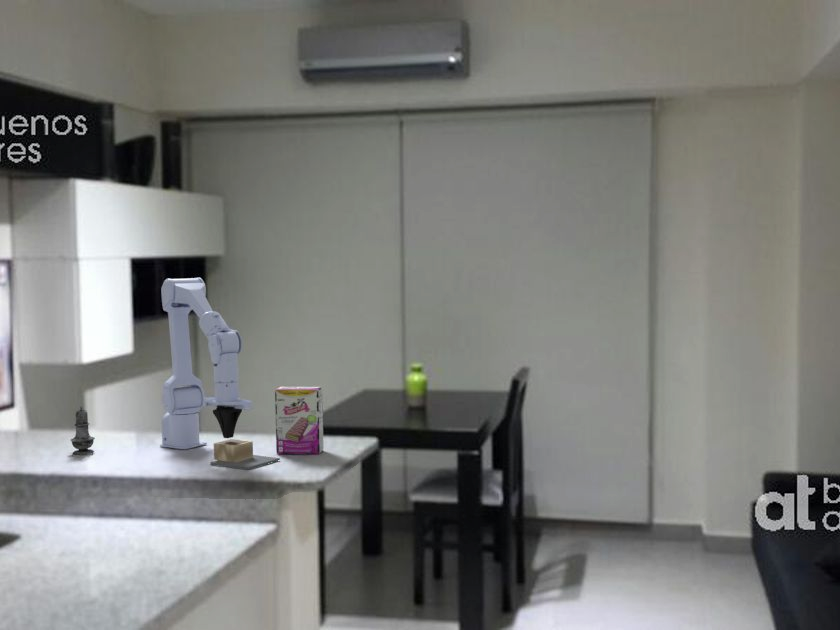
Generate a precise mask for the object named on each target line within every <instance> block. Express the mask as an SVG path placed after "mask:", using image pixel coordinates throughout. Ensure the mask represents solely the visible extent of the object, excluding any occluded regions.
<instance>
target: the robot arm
mask: <svg viewBox="0 0 840 630" xmlns="http://www.w3.org/2000/svg"><path fill="white" fill-rule="evenodd" d="M160 288H161V289H160V290H161V293H160V294H161V303H162V304H161V305H162V309H163V311H164V312H167V316H168V326H169V327H168V328H169V339H170V353H171V355H170V356H171V365H172V366H171V367H172V375H171V376H170V377H169V378H168V379H167V380H166V381H165V382H164V383H163V384H162V396H161V403H162V407H163V409H164V410H165V411H166V413H165V414H164V415H163V417H162V419H161V440H162V441H161V443H162V444H161V443H160V444H159V447H161V448H169V449H170V448H172V449H177V450H188V449H189V450H190V449H193V448H196V447H200V446H205V445H207V444H208V443H207V442H206V441H200V423H199V420H200V417H199V412H201V411H202V409H203V407H213V408H214V407H215V408H216V409H213V410H212V414H213V415H214V417H215V418H216V420H217V422H218V424H219V427H220V430H221V433H222V437H223V439H232V438H234V435H235V430H236V426H237V423H238V420H239V418H240V415H241V413H242V412H243V411H248V410H252V409H253V408H254V407H253V401H252V400H247V399H244V398H240V385H239V363H238V362H239V361H238V360H239V359H238V355H239V354H240V353H241V352H242V347H243V341H242V337H241V335H240V333H239V331H238V330H235V329H233V328H230V327H229V326H228V324H227V323H226V321H225V320H224V318H223V316H222V314H220V313H219V312H218V311H215V310H213V308H212V307H211V305H210V303H209V301H208V299H207V297H206V296H207V289H206V283H205V281H204V280H203V279H202V278H201V277H194V278H193V277H191V278H189V277H188V278H166V279H165V280H163V283H162V286H161V287H160ZM191 311H193V312H194V313H195V314H196V315H197V317H198V318H199V321H198V326H199V327H200V330H201V331H202V332H203V335H204V336H205V337H206V339H207V341H208V343H207V345H208V351H209V354H210V360H211V363H212V364H213V381H214V382H213V384H214V387H213V388H214V397H210V396H209V397H206V393H205V391H204V388H203V387H204V386H203V383H202V382H203V381H202V380H201V379H200V378H198V377H197V376H195V375H194V374H193V366H192V365H193V362H192V352H191V351H192V350H191V339H190V324H189V314H190V312H191ZM189 385H190V386H189Z"/></svg>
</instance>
